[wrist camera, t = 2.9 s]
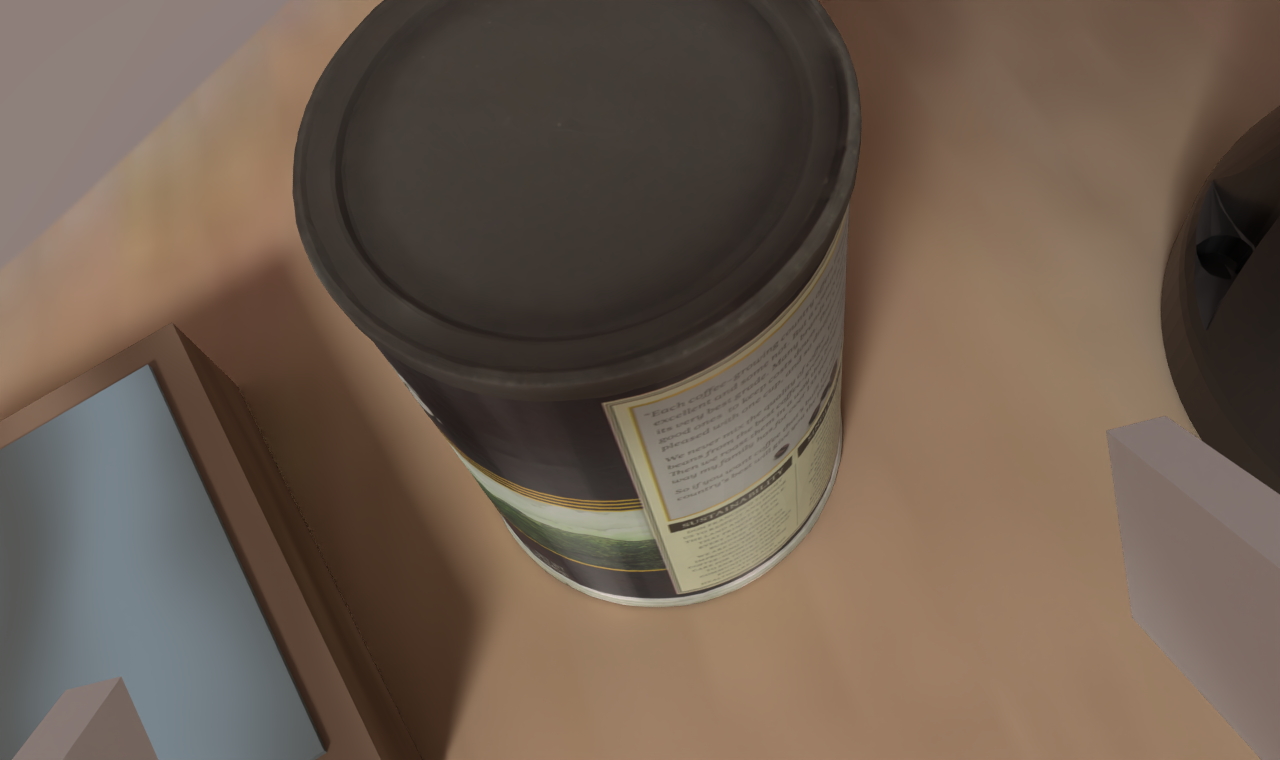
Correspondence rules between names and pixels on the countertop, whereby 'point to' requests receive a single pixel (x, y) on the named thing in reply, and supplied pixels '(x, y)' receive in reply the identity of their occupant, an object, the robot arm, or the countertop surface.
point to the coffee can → (603, 265)
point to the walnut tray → (174, 572)
